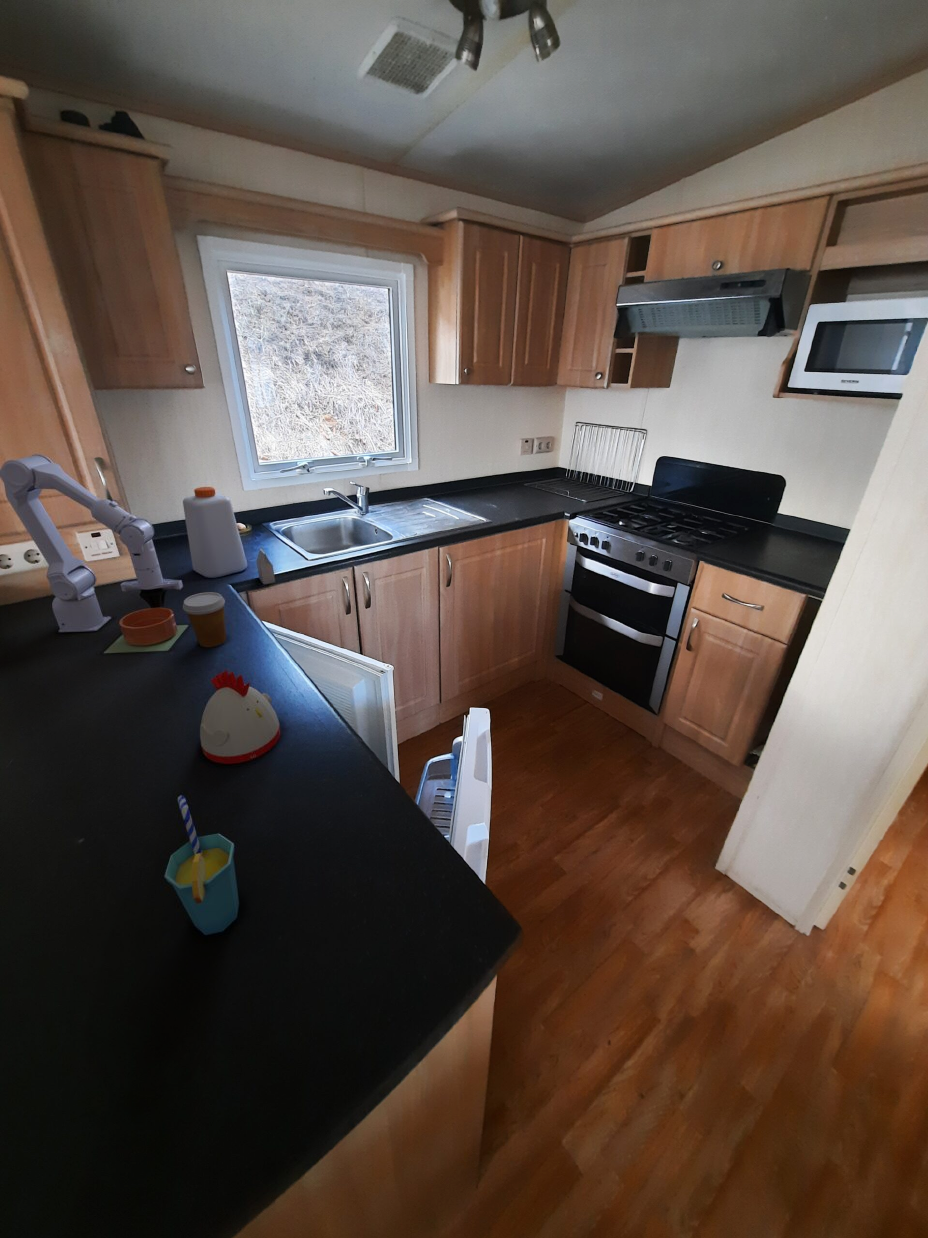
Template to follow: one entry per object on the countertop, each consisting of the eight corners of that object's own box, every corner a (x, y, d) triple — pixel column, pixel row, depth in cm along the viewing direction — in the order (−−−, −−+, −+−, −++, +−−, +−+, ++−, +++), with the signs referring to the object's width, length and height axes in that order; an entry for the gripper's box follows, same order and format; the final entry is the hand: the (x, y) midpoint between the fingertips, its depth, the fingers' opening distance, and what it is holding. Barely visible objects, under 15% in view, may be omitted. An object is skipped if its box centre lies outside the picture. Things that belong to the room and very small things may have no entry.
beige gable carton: (263, 584, 165) (258, 555, 160) (259, 577, 170) (254, 549, 166) (275, 582, 167) (270, 553, 162) (270, 575, 172) (265, 547, 167)
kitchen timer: (245, 771, 89) (229, 701, 82) (185, 752, 93) (165, 684, 86) (295, 725, 101) (284, 660, 94) (239, 709, 105) (225, 647, 98)
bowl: (117, 648, 126) (110, 629, 124) (137, 627, 137) (131, 608, 134) (168, 646, 128) (163, 626, 125) (184, 624, 139) (179, 606, 136)
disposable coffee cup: (217, 652, 126) (207, 608, 120) (184, 648, 127) (172, 605, 122) (240, 634, 134) (231, 593, 129) (208, 631, 136) (198, 589, 130)
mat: (103, 653, 124) (103, 652, 124) (130, 627, 137) (130, 626, 137) (167, 650, 126) (167, 650, 126) (188, 625, 138) (188, 624, 138)
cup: (173, 886, 69) (144, 805, 63) (232, 857, 74) (211, 779, 67) (195, 974, 59) (163, 890, 53) (262, 935, 64) (241, 852, 57)
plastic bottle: (252, 569, 177) (238, 488, 164) (209, 581, 167) (190, 495, 154) (231, 559, 186) (216, 481, 173) (189, 569, 176) (170, 488, 163)
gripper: (181, 560, 136) (193, 606, 142) (124, 562, 134) (138, 608, 141) (171, 570, 130) (183, 617, 136) (111, 571, 128) (126, 619, 134)
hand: (160, 613), depth 138 cm, fingers closed, pressing on bowl
